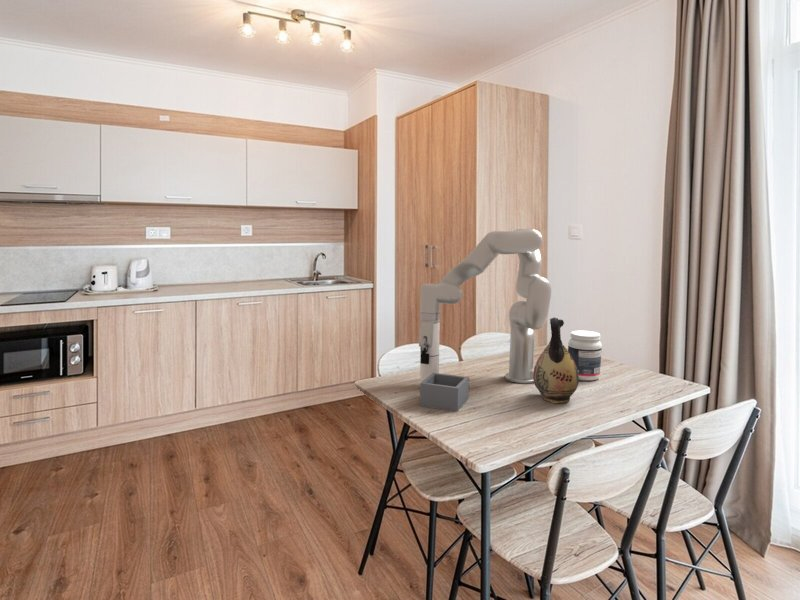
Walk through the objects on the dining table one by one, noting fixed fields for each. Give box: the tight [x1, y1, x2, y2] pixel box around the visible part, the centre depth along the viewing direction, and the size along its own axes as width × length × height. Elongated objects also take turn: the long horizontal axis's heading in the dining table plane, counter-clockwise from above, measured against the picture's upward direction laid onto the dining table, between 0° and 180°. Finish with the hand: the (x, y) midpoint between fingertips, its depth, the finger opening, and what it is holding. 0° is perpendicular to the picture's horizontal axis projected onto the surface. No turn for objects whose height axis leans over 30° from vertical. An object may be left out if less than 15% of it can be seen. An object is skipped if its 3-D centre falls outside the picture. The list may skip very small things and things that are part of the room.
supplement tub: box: [567, 329, 603, 382], centre depth 199 cm, size 13×13×18 cm
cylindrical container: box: [419, 321, 441, 384], centre depth 187 cm, size 7×7×25 cm
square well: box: [419, 372, 470, 412], centre depth 170 cm, size 13×13×8 cm
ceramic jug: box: [533, 317, 580, 404], centre depth 172 cm, size 17×15×30 cm
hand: (429, 360), depth 187 cm, fingers open, 9 cm apart
